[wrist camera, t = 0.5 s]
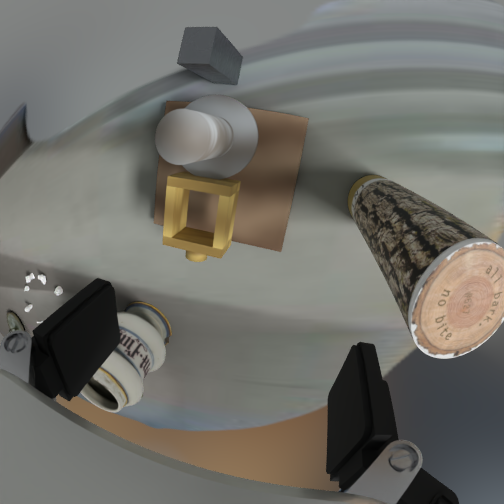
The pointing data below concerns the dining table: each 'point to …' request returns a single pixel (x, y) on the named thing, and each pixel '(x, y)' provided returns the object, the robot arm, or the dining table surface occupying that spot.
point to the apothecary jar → (130, 358)
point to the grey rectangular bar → (210, 55)
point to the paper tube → (432, 266)
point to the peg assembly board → (225, 175)
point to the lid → (14, 322)
